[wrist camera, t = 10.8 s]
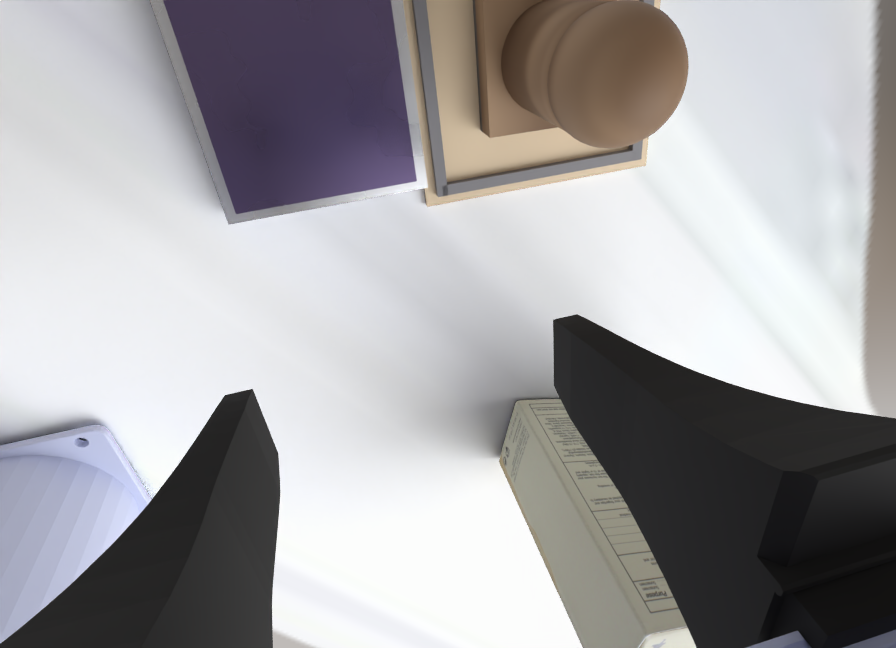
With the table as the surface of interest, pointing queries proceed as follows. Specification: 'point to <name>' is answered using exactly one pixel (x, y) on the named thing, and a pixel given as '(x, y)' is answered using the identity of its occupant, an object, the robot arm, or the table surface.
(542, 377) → the table surface
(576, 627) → the skincare box
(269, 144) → the ink pad
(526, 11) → the stamp
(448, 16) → the beige square tile
